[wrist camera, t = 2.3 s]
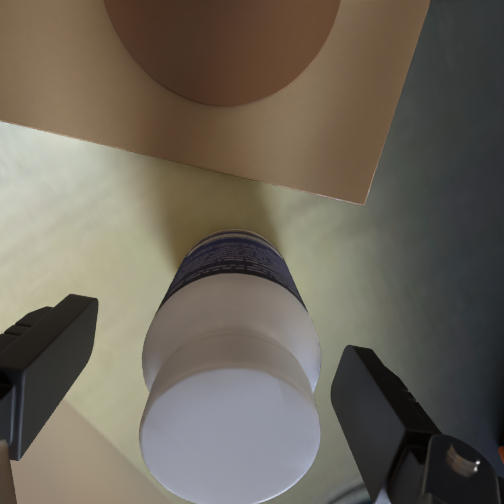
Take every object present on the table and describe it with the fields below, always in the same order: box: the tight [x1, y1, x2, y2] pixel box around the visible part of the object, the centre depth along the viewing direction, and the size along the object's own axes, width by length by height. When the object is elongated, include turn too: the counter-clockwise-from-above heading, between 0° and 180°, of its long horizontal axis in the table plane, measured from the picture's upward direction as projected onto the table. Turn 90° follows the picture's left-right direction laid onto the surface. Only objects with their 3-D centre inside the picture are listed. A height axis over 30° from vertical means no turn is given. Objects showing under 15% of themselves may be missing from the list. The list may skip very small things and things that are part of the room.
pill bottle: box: [139, 229, 321, 504], centre depth 12 cm, size 5×5×10 cm
